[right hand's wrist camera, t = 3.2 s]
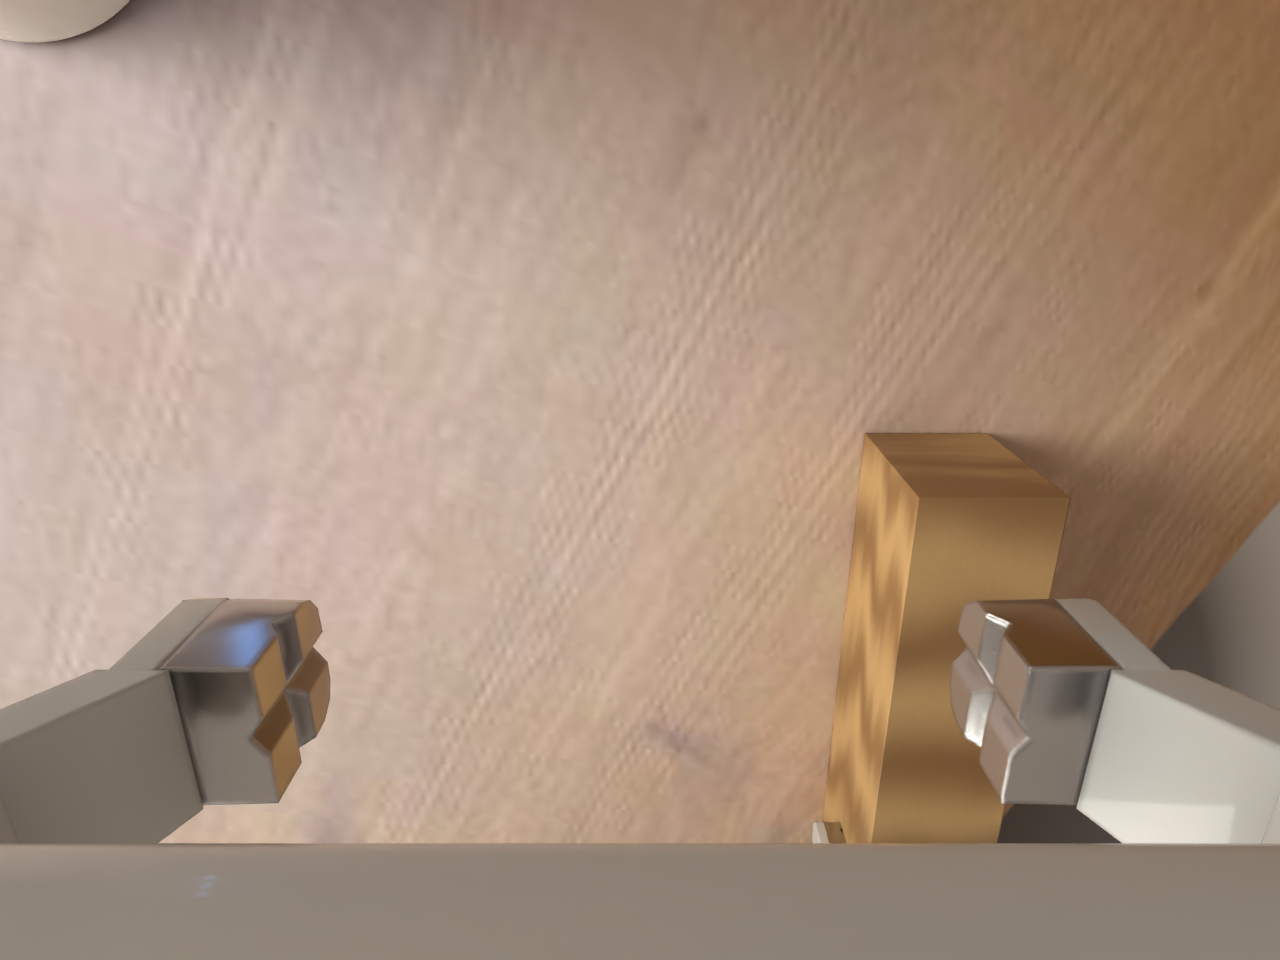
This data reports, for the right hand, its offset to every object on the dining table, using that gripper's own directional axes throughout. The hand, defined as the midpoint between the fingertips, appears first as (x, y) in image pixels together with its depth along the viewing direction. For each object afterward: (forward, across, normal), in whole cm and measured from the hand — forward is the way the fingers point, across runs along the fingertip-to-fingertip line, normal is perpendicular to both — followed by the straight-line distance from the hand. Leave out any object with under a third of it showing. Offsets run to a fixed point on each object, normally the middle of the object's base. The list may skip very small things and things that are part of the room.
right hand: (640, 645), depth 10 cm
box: (+30, -14, +20) cm, 39 cm away
